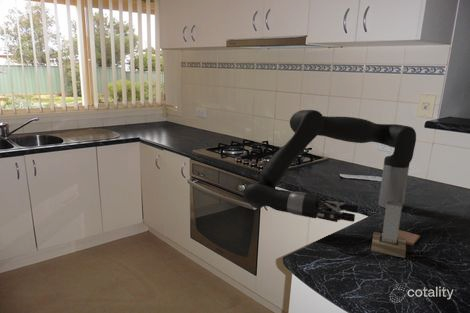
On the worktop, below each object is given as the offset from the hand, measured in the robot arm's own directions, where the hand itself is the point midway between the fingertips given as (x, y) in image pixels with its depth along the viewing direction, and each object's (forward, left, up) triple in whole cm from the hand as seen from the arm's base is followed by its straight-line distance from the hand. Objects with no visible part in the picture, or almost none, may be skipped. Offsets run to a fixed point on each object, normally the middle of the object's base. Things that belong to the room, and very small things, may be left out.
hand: (356, 213), depth 108 cm
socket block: (-3, +10, -9) cm, 13 cm away
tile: (-14, +11, -9) cm, 20 cm away
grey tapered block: (-3, +10, -9) cm, 13 cm away
